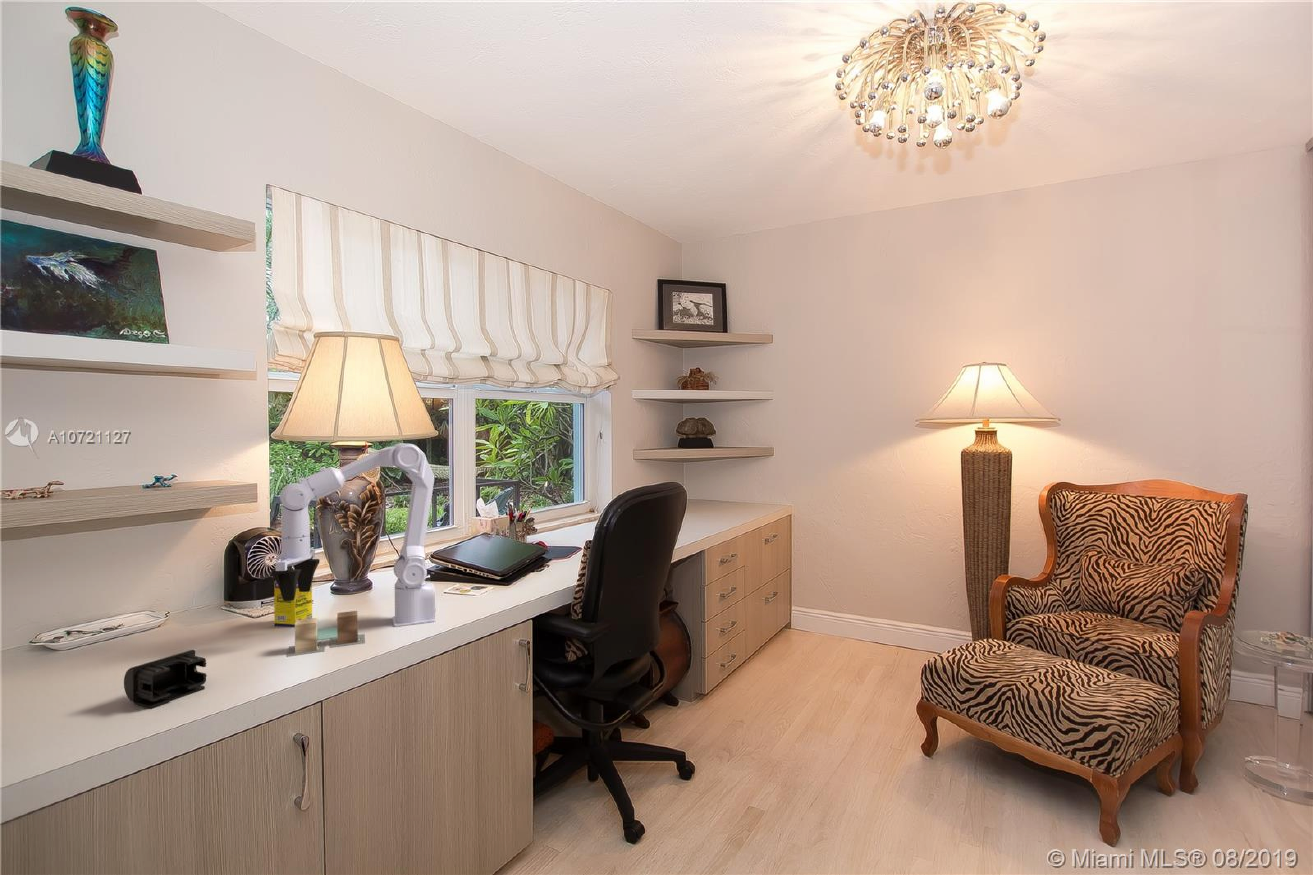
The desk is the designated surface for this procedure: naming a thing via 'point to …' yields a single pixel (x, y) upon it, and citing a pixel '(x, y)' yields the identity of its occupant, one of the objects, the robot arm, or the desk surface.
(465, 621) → the desk surface
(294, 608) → the supplement box
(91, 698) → the desk surface
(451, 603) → the desk surface
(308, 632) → the oak block
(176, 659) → the end cap
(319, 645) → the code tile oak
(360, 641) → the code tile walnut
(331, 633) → the felt pad
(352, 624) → the walnut block
